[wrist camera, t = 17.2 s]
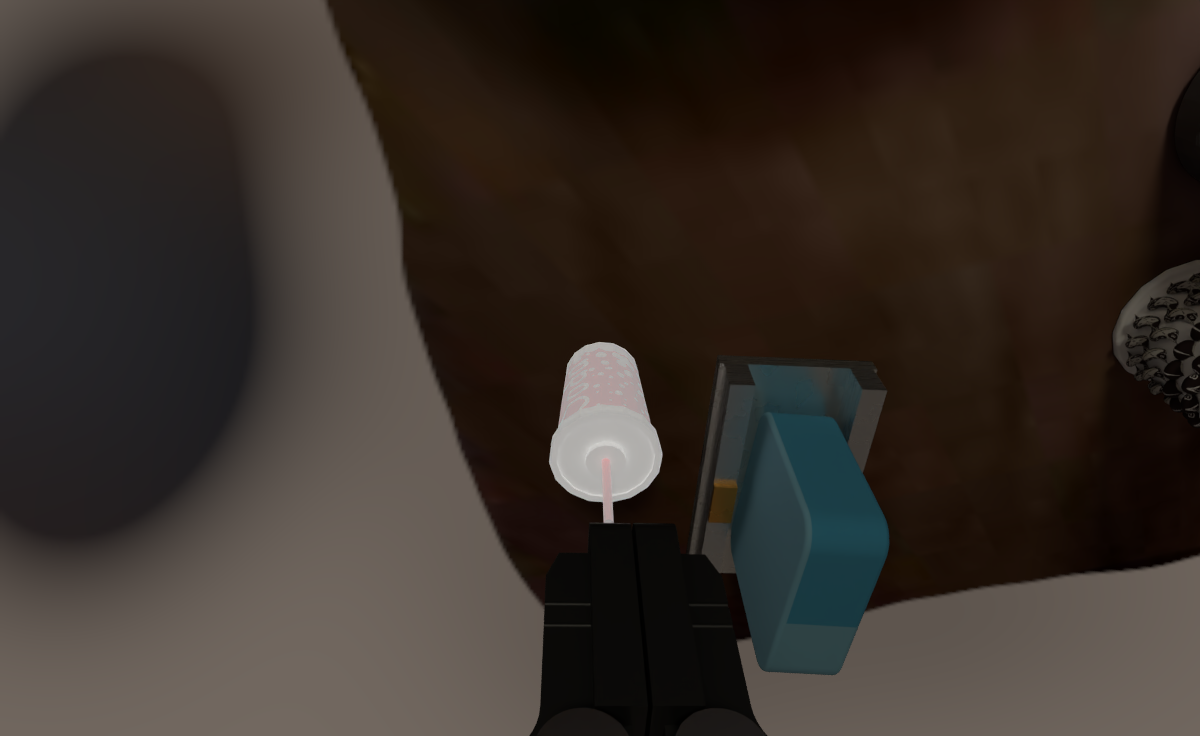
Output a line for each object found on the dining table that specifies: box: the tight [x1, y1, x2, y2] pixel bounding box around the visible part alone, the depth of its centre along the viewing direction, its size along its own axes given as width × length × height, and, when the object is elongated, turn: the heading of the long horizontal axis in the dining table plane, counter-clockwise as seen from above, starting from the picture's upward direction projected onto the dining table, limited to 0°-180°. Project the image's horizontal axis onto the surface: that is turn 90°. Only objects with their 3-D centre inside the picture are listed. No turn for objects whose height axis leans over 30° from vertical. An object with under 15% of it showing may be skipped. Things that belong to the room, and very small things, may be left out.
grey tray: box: [686, 355, 887, 573], centre depth 51 cm, size 10×18×4 cm, turn 177°
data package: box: [731, 412, 889, 675], centre depth 47 cm, size 12×4×12 cm, turn 174°
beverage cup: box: [549, 342, 662, 523], centre depth 43 cm, size 6×6×14 cm
